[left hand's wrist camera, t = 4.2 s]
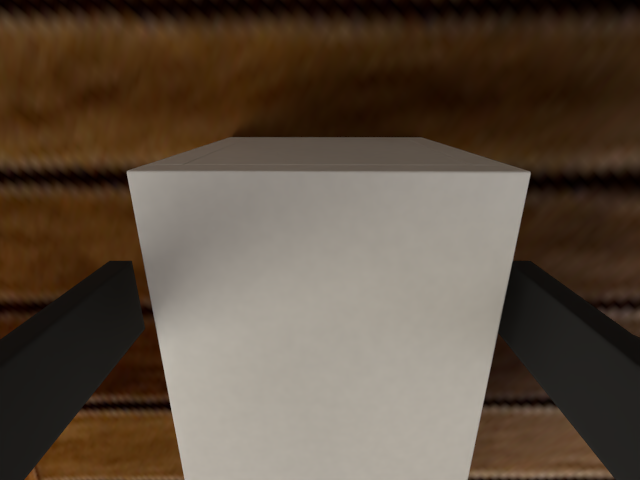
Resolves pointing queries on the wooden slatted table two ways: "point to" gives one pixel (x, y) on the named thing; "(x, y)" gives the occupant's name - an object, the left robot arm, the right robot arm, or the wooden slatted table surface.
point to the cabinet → (327, 302)
